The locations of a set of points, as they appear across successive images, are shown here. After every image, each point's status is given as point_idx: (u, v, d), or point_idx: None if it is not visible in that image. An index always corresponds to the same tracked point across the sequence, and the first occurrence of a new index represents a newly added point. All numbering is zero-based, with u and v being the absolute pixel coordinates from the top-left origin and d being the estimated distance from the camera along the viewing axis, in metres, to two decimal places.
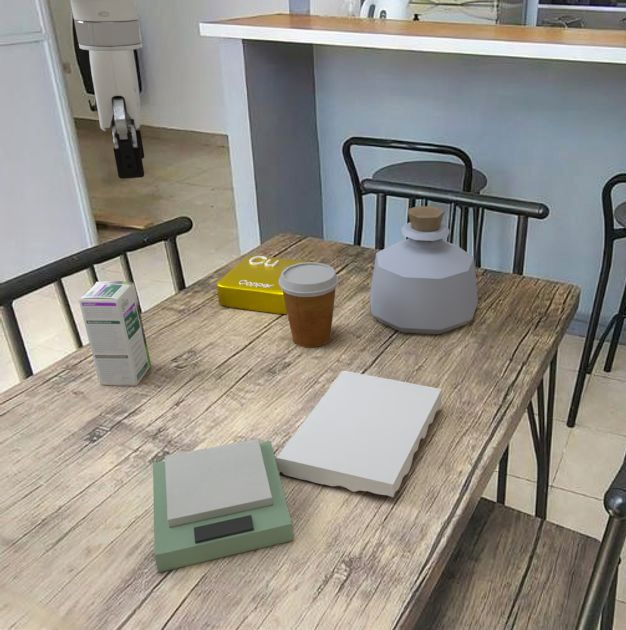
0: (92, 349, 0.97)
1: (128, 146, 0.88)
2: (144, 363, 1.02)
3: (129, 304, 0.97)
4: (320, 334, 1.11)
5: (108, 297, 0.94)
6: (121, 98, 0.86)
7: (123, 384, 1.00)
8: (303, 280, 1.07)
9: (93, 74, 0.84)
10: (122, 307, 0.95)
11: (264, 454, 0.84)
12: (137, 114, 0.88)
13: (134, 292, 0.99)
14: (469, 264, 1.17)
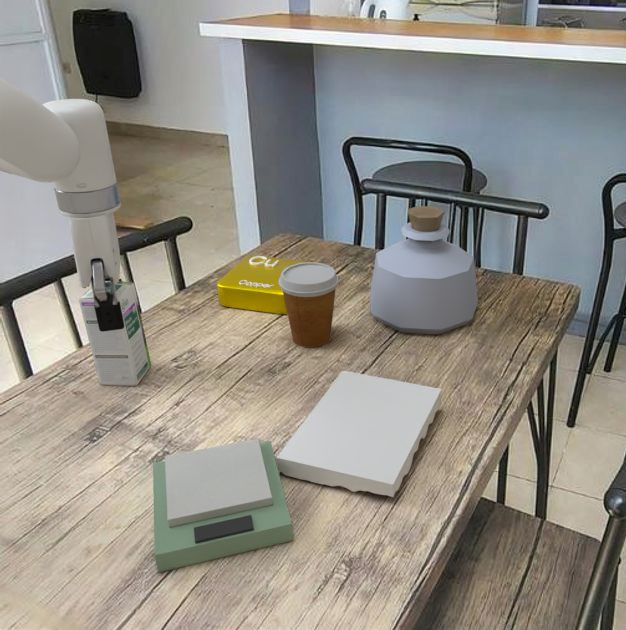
0: (92, 349, 0.97)
1: (108, 304, 0.92)
2: (144, 363, 1.02)
3: (129, 304, 0.97)
4: (320, 334, 1.11)
5: None
6: (100, 262, 0.89)
7: (123, 384, 1.00)
8: (303, 280, 1.07)
9: (72, 240, 0.87)
10: (122, 307, 0.95)
11: (264, 454, 0.84)
12: (115, 272, 0.91)
13: (134, 292, 0.99)
14: (469, 264, 1.17)
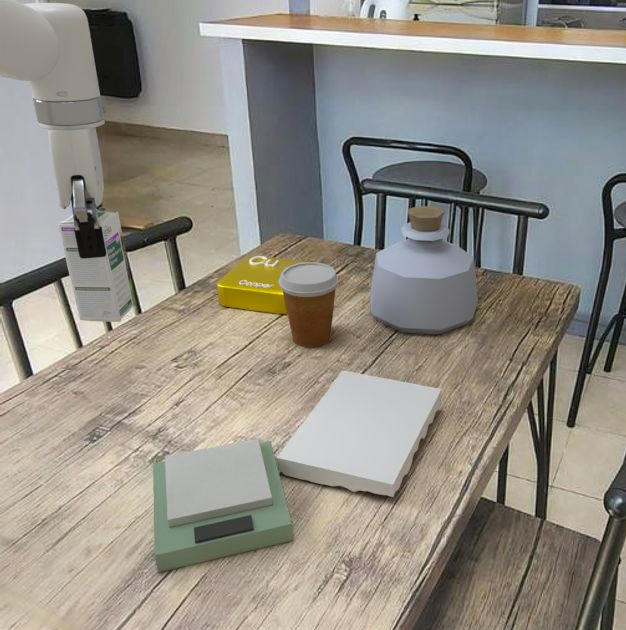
0: (72, 280, 0.92)
1: (89, 228, 0.86)
2: (127, 299, 0.96)
3: (112, 233, 0.91)
4: (320, 334, 1.11)
5: None
6: (81, 179, 0.84)
7: (105, 320, 0.94)
8: (303, 280, 1.07)
9: (51, 154, 0.82)
10: (104, 234, 0.89)
11: (264, 454, 0.84)
12: (97, 192, 0.85)
13: (118, 221, 0.93)
14: (469, 264, 1.17)
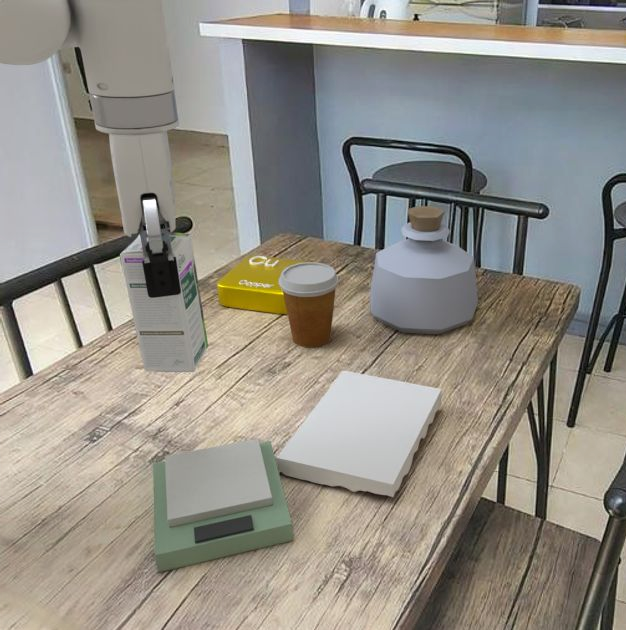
0: (136, 323, 0.73)
1: (162, 260, 0.67)
2: (201, 342, 0.77)
3: (185, 263, 0.72)
4: (320, 334, 1.11)
5: None
6: (153, 199, 0.64)
7: (176, 370, 0.75)
8: (303, 280, 1.07)
9: (116, 166, 0.63)
10: (178, 265, 0.70)
11: (264, 454, 0.84)
12: (173, 214, 0.66)
13: (191, 247, 0.74)
14: (469, 264, 1.17)
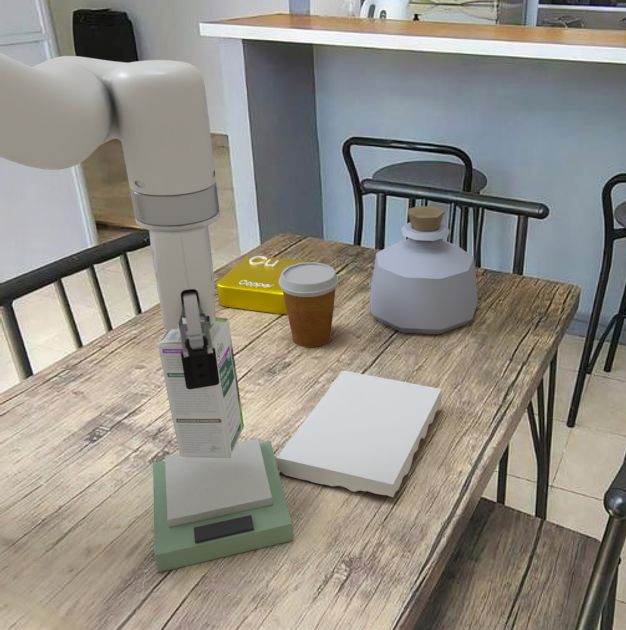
0: (173, 411, 0.71)
1: (201, 354, 0.65)
2: (237, 425, 0.76)
3: (224, 350, 0.70)
4: (320, 334, 1.11)
5: None
6: (194, 295, 0.63)
7: (212, 456, 0.73)
8: (303, 280, 1.07)
9: (156, 264, 0.61)
10: (217, 354, 0.68)
11: (264, 454, 0.84)
12: (213, 308, 0.64)
13: (229, 331, 0.72)
14: (469, 264, 1.17)
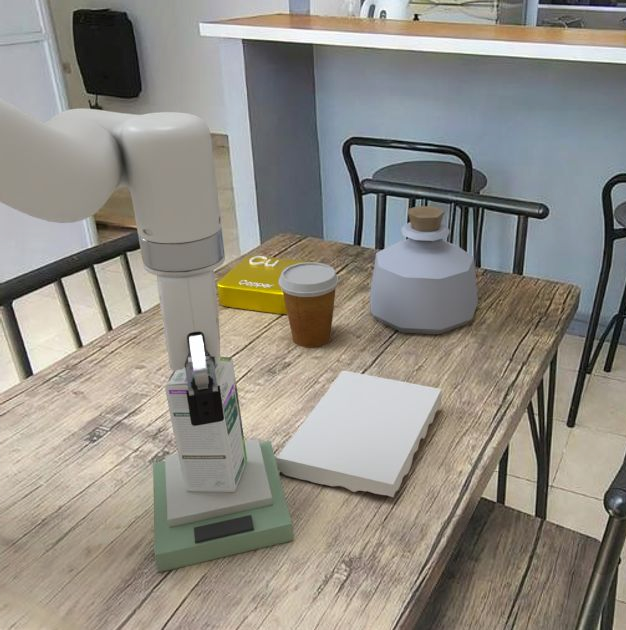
0: (179, 448, 0.73)
1: (207, 392, 0.66)
2: (241, 459, 0.78)
3: (228, 389, 0.73)
4: (320, 334, 1.11)
5: None
6: (199, 334, 0.64)
7: (217, 490, 0.76)
8: (303, 280, 1.07)
9: (164, 308, 0.63)
10: (222, 394, 0.70)
11: (264, 454, 0.84)
12: (218, 349, 0.66)
13: (232, 370, 0.74)
14: (469, 264, 1.17)
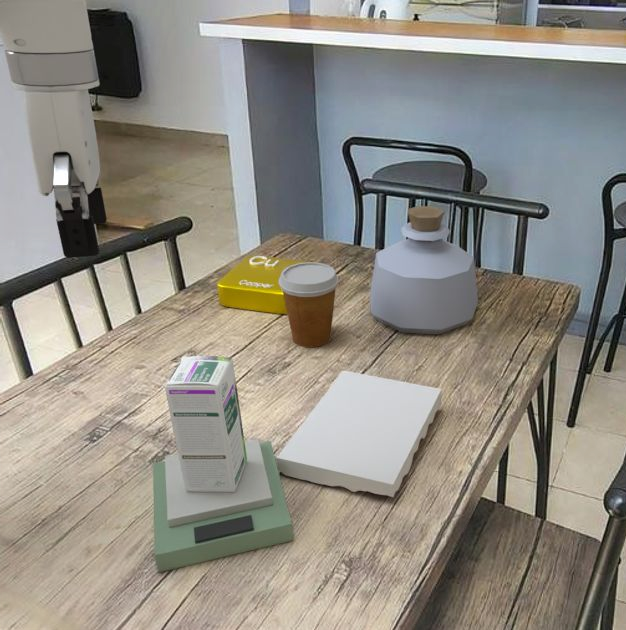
0: (179, 448, 0.73)
1: (75, 217, 0.66)
2: (241, 459, 0.78)
3: (228, 389, 0.73)
4: (320, 334, 1.11)
5: (205, 383, 0.69)
6: (66, 155, 0.64)
7: (217, 490, 0.76)
8: (303, 280, 1.07)
9: (27, 123, 0.62)
10: (222, 394, 0.70)
11: (264, 454, 0.84)
12: (89, 175, 0.66)
13: (232, 370, 0.74)
14: (469, 264, 1.17)
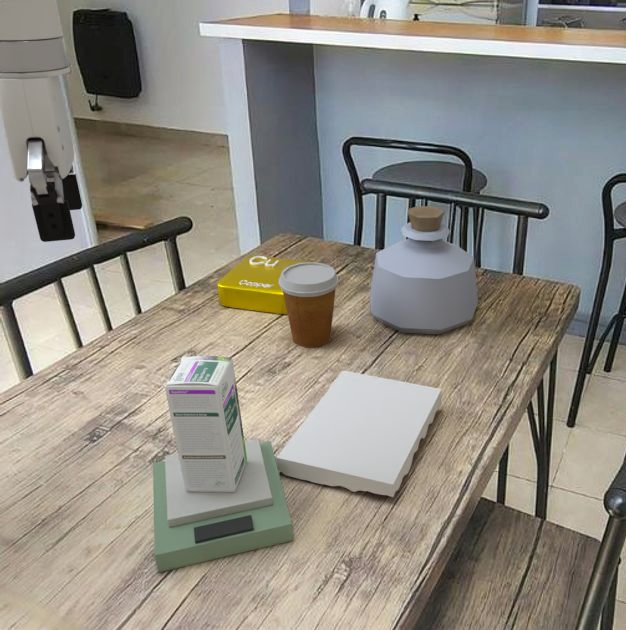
0: (179, 448, 0.73)
1: (50, 202, 0.67)
2: (241, 459, 0.78)
3: (228, 389, 0.73)
4: (320, 334, 1.11)
5: (205, 383, 0.69)
6: (39, 140, 0.65)
7: (217, 490, 0.76)
8: (303, 280, 1.07)
9: (0, 109, 0.64)
10: (222, 394, 0.70)
11: (264, 454, 0.84)
12: (62, 160, 0.67)
13: (232, 370, 0.74)
14: (469, 264, 1.17)
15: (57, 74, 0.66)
